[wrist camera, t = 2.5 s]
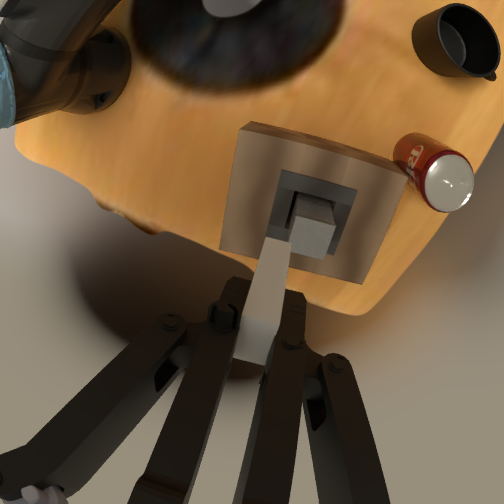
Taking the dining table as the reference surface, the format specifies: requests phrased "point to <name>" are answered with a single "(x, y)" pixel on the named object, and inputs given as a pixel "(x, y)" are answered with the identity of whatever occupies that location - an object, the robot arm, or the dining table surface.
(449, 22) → the mug
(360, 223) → the socket block
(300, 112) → the dining table surface
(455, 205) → the soda can
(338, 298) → the dining table surface
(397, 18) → the dining table surface
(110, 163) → the dining table surface
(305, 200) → the peg
